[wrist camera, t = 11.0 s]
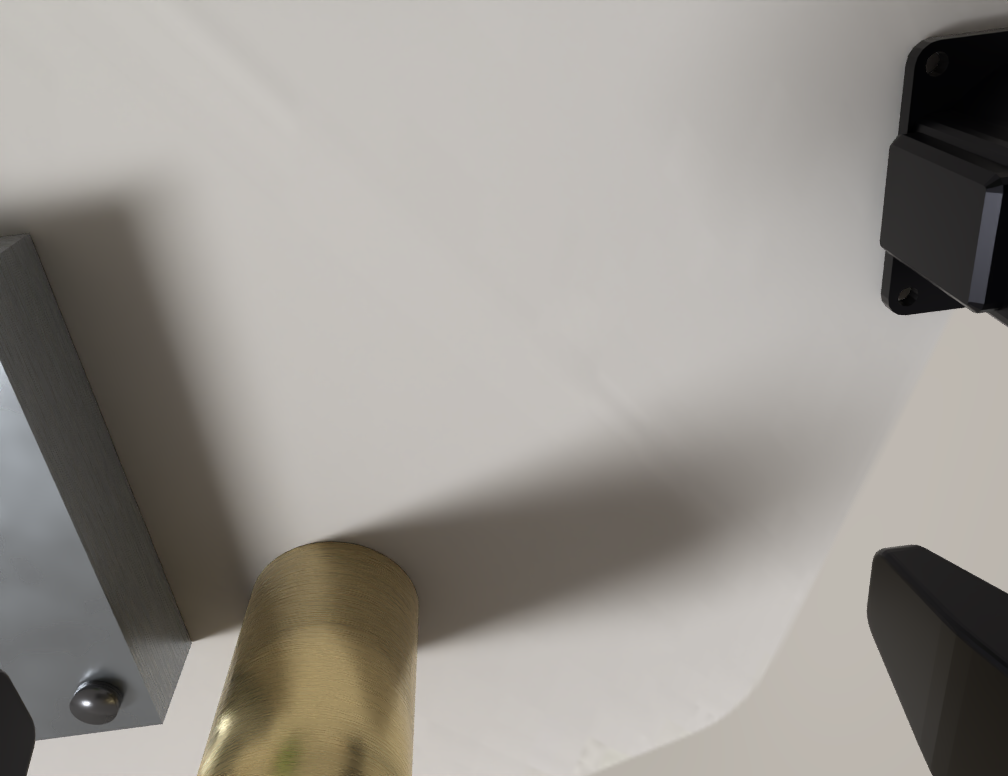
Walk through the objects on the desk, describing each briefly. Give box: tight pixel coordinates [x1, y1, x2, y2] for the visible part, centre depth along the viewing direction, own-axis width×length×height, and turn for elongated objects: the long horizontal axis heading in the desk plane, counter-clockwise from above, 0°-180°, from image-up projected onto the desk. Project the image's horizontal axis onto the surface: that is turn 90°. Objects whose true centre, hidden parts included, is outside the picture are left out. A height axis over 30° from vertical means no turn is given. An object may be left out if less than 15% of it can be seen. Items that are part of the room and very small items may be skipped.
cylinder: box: [197, 542, 419, 776], centre depth 20 cm, size 5×5×11 cm
